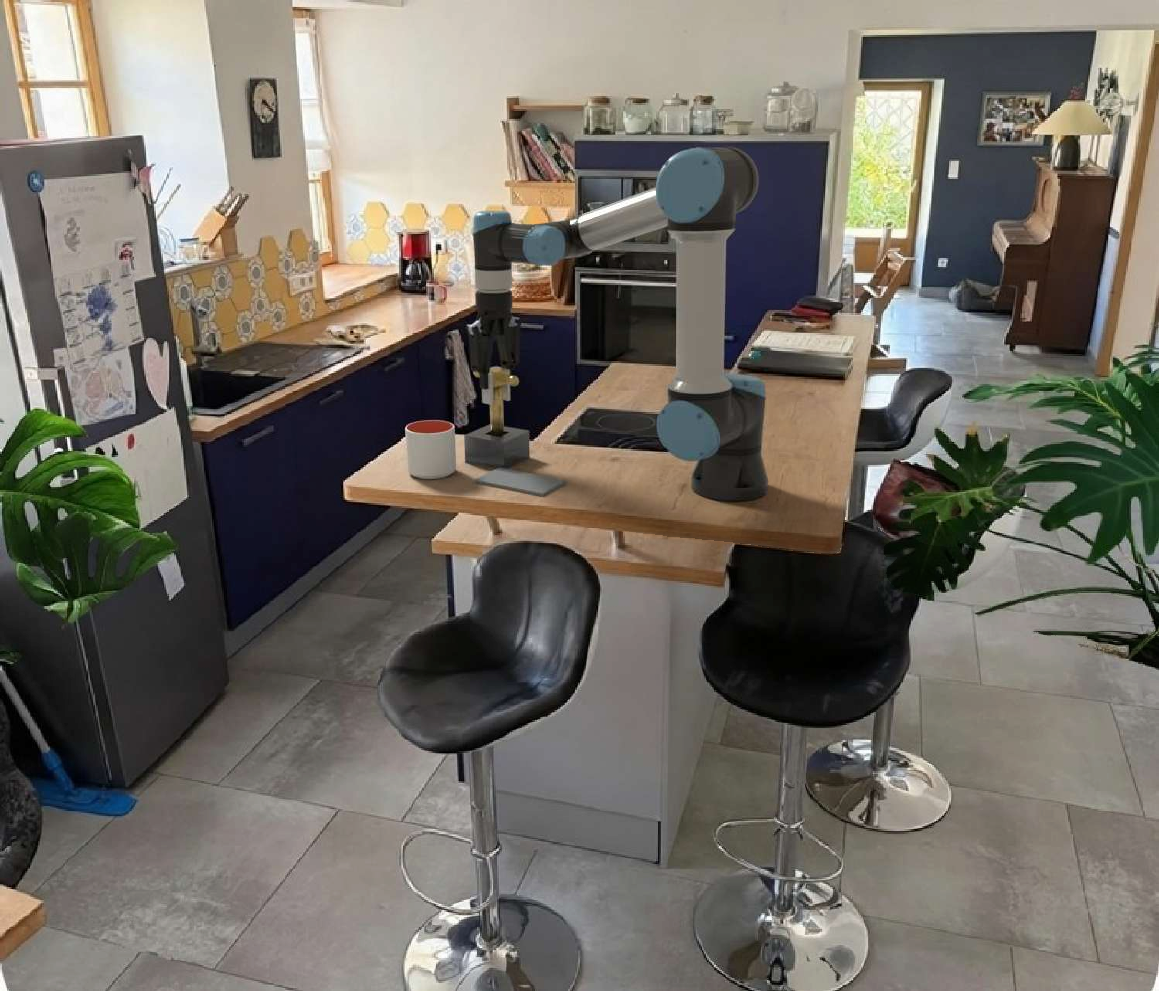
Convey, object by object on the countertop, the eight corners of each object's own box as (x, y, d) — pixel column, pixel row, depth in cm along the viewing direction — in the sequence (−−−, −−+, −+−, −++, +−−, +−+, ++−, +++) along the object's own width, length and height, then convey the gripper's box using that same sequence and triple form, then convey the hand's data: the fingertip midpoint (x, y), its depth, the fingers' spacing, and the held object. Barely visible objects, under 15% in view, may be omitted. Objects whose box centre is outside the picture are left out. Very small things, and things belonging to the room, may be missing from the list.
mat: (565, 482, 206) (565, 480, 206) (542, 496, 199) (542, 493, 199) (499, 469, 214) (499, 467, 213) (474, 482, 206) (474, 479, 206)
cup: (447, 482, 206) (445, 435, 203) (400, 479, 208) (397, 432, 205) (462, 467, 215) (460, 421, 212) (417, 463, 217) (415, 418, 214)
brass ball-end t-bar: (525, 447, 216) (524, 373, 210) (511, 451, 213) (509, 376, 207) (484, 434, 224) (482, 362, 219) (470, 438, 222) (467, 365, 216)
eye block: (529, 457, 222) (529, 430, 220) (504, 470, 214) (503, 442, 212) (491, 450, 226) (490, 424, 224) (465, 462, 218) (464, 435, 216)
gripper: (512, 283, 215) (514, 391, 224) (449, 292, 204) (453, 405, 212) (536, 287, 211) (537, 397, 219) (473, 296, 199) (477, 412, 207)
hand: (496, 401), depth 215 cm, fingers closed on brass ball-end t-bar, 4 cm apart
